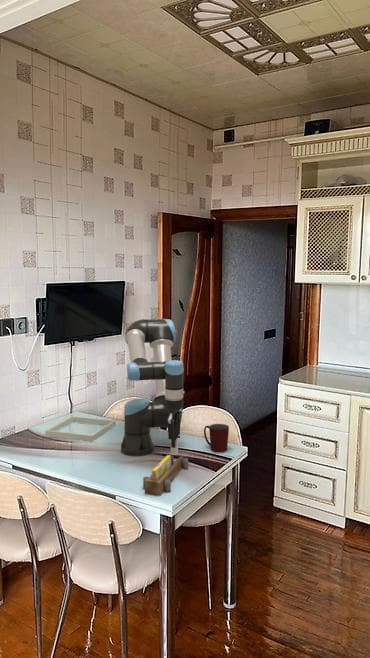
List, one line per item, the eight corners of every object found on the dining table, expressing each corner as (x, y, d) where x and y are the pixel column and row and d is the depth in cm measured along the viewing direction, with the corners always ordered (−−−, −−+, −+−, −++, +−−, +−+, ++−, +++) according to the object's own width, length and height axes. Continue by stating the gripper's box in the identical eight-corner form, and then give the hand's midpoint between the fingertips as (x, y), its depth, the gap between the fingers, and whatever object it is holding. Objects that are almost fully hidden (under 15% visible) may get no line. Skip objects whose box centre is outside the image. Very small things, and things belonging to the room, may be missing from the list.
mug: (199, 450, 228) (199, 426, 227) (208, 444, 235) (208, 421, 234) (223, 454, 222) (223, 430, 221) (231, 448, 230) (231, 425, 228)
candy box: (166, 474, 201) (166, 454, 200) (171, 475, 200) (171, 455, 199) (151, 491, 185) (151, 469, 184) (157, 491, 185) (156, 470, 184)
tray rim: (45, 436, 246) (45, 430, 246) (72, 421, 271) (72, 416, 270) (92, 441, 239) (92, 435, 238) (115, 426, 263) (115, 420, 263)
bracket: (138, 492, 183) (138, 479, 183) (164, 464, 210) (164, 453, 210) (166, 496, 180) (166, 483, 180) (188, 467, 207) (188, 456, 207)
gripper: (177, 403, 195) (177, 460, 198) (187, 395, 208) (187, 449, 211) (160, 401, 198) (160, 458, 201) (170, 393, 210) (170, 447, 213)
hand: (174, 453), depth 206 cm, fingers closed
